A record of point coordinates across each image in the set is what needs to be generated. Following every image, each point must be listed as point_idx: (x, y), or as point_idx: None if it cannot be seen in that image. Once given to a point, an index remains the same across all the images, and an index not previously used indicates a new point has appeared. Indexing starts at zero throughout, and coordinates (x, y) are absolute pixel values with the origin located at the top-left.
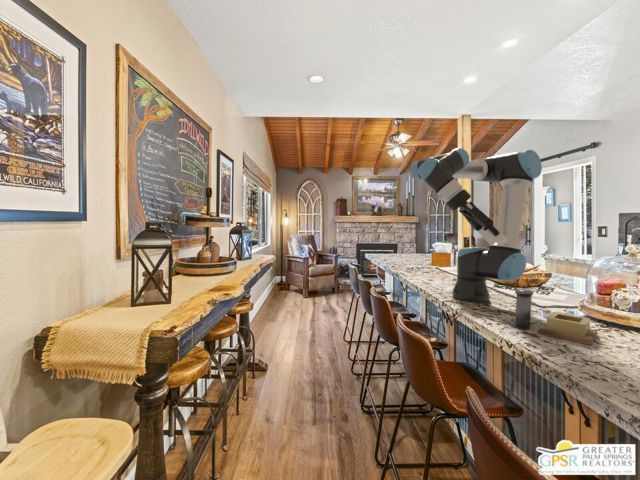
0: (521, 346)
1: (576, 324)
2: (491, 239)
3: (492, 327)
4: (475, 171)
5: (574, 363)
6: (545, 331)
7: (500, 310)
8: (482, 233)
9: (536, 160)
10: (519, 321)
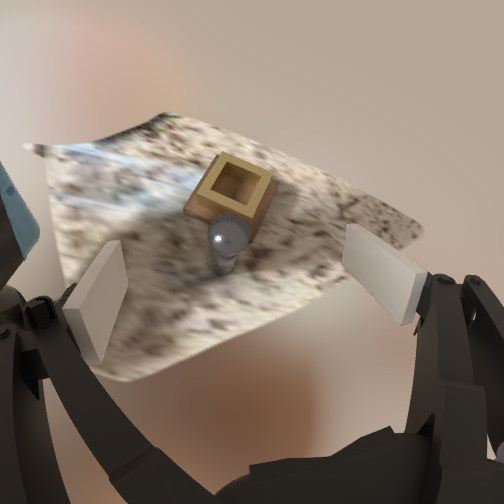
0: (331, 285)
1: (268, 183)
2: (116, 275)
3: (243, 321)
4: None
5: None
6: (256, 232)
7: None
8: (105, 330)
9: None
10: (233, 266)
